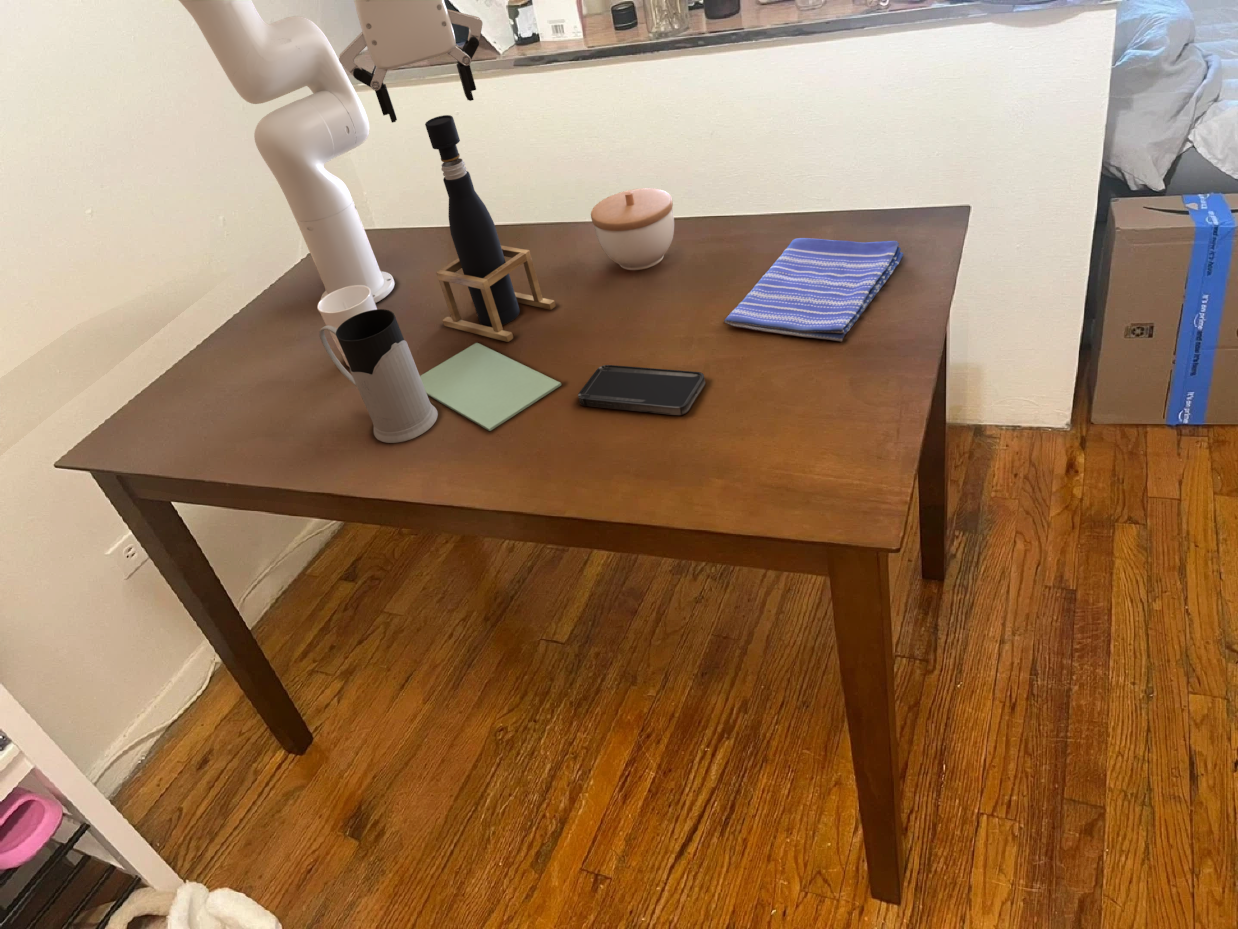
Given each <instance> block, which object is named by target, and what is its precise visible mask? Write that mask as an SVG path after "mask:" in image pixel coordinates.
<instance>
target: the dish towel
mask: <svg viewBox="0 0 1238 929" xmlns="http://www.w3.org/2000/svg"><path fill="white" fill-rule="evenodd" d="M901 250H902V249H901V247H900V243H899V241H897V240H884V241H870V242H866V241H865V242H860V241H853V240H852V241H851V240H838V239H837V240H835V239H834V240H833V239H824V238H809V237H799V238H794V239H792V241H791V242H790V243H789V244H788V245H787V246H786V248H785V249H784V250H783V252H782V254H781V255H780V256H779V257H778V258H777V259H776V260H775V262H774V263H773V264H772V265H771V267H770V268H769V269H768V270H767V271H766V272H765V274H763V275H762V276H761V278H760V279H759V280H758V281H757V283H755V285H754V286H753V288H752V289H751V290H750V291H749V292H748V293H747V294H746V295H745V297H744V298H742V301H740V302H738V305H737V306H736V307H734V309H732V311H730V313H729V315H727V316H726V318H725V319H724V320H723V323H725V324H726V325H729V326H732V327H735V328H741V329H747V330H752V331H759V332H765V333H773V334H780V335H786V336H794V337H801V338H811V339H819V340H828V341H834V342H843V340H844V338H845V336H846V335H847V334H848V332H849V331H850V329H851V328H852V327H853V326H854V325H855V323H856V322H857V321H858V319H859V318H861V315H862V314H863V313H864V312H865V310H866V309H867V307H868V306H869V305H870V303H871V302H872V300H873V299H874V298H875V297H876V296H877V294H878V293H879V292H880V290H881V289H882V287H883V286H884V285H885V284H886V282H888V279H889V278H890V277H891V276H892V274H893V273H894V271H895V269H896V268H897V267H898V266H899V264H900V262H901V260H902V258H903V257H904V252H901Z"/></svg>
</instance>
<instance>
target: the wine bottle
mask: <svg viewBox="0 0 1238 929" xmlns="http://www.w3.org/2000/svg"><path fill="white" fill-rule="evenodd" d="M424 127H425V129H426V132H427V136H428V138H429V141H430V144H431V147H432V149H433V150H438V154H439V157H440V160H441V162H442V163H441V165H440V166H441V172H443V173H442V176H443V179H442V180H443V183H444V187H445V190H446V192H447V196H448V197H447V198H448V226H449V232H450V236H451V239H452V243H453V245H454V248H455V251H456V254H457V257H458V258H459V261H460V264H461V267H462V268H461V270H462V274H464V275H469V276H474V277H478V278H484V277H485V276H487V275H488V274H490V273H491V272H493V271H494V270H496V269H497V268H499V267H500V266H501V265H503V264H504V263H506V262H507V261H506V259H505V258H506V257H505V256H504V255H503V251H502V248H501V246H502V245H501V241H500V238H499V234H498V232H497V227H496V225H495V222H494V219H493V217H492V215H491V214H490V212H489V210H488V208H487V206H486V204H485V203H484V202H483V200H482V199H481V197H480V196H479V194H478V193H477V192H476V190H475V187H474V184H473V180H472V177H471V174H470V172H469V171H468V170H467V167H466V166H465V165H466V163H465V161H464V160H463V158H460V157H461V155H460V154H461V153H459V150H458V146H457V145H458V144H459V143H460V142H461V140H460V135H459V132H458V129H457V126H456V123H455V118H454V117H453V115H449V114H444V115H439V116H435V117H433V118H430V119H429V120H427V121H426V122H425V124H424ZM458 258H457V259H458ZM510 275H511V274H510V273H509V274H507V275H506V276H504V277H503V278H501V279H500V280H498V281H497V282H496V283H494V284H493V285H491V286H490V289H491V292H492V296H493V299H494V302H495V305H496V308H497V312H498V315H499V318H500V321H501V324H502V326H504V325H507V324H509V323H511V322H512V321H514V320H515V319H517V317H518V316H519V315H520V312H521V309H520V305H519V303H518V302H517V299H516V296H515V292H516V291H515V290H514V286H513V281H512V279H511V276H510ZM467 288H468V291H469V294H470V297H471V300H472V304H473V306H474V309H475V313H476V316H477V318H478V322H479V324H480V325H484V326H488V327H492V324H491V320H490V317H489V314H488V311H487V308H486V305H485V302H484V299H483V295H482V292H481V289H479V288H474V287H470V286H467ZM492 328H493V327H492Z"/></svg>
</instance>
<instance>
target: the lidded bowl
mask: <svg viewBox="0 0 1238 929" xmlns="http://www.w3.org/2000/svg"><path fill="white" fill-rule="evenodd" d="M673 206H674V204H673V198H672V195H671V194H670V193H669V192H667V191H665V190H664V189H659V188H654V187H653V188H652V187H644V188H643V187H641V188H633V189H628V190H624V191H621V192H617V193H614V194H612V195H609V196H607V197H605V198H603V199H601V200H600V201H599V202H598V203H596V204H595V205H594V206H593V207H592V209H591V211H590V219H591V222H592V224H593V227H594V232H595V235H596V238H597V241H598V244H599V245H600V247H601V249H602V251H603V252H604V254H605V255H606V256H607V257H608V258H609V259H610V260H611V261H613V262H614V263H616V264H618V265H619V266H620V268H622V269H624V270H627V271H640V270H645V269H649V268H651V267H653V266H656V265H658V264H660V263H661V262H662V261H663V259H664V257H665V254H666V253H667V252H668V251H669V249H670V247H671V244H672V243H673V239H674V236H675V216H674V215H675V214H674V209H673Z"/></svg>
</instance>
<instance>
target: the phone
mask: <svg viewBox="0 0 1238 929" xmlns="http://www.w3.org/2000/svg"><path fill="white" fill-rule="evenodd" d="M705 386H706V379H705V374H704V373H703V372H700V371H693V370H692V371H691V370H681V369H680V370H678V369H667V368H666V369H665V368H655V367H653V368H651V367H640V366H629V365H628V366H627V365H617V364H616V365H615V364H604V365H601V366H599V367H597V368H596V370H595V371H594V372H593V374H592V375H591V376H590V378H589V379H588V380H587V382H585V384H584V386H583V387H582V388H581V389H580V391H579V392H578V394H577V397H578V401H579V404H580V405H581V406H583V407H591V408H602V409H611V410H620V411H631V412H640V413H650V414H661V415H671V416H683V415H686V414H687V413H688V412H689V411H690V410H691V409H692V407H693V405H694V403H695V402H696V400H697V398H698V397H699V395H700V394H701V392H702V390H703V389H704V387H705Z"/></svg>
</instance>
